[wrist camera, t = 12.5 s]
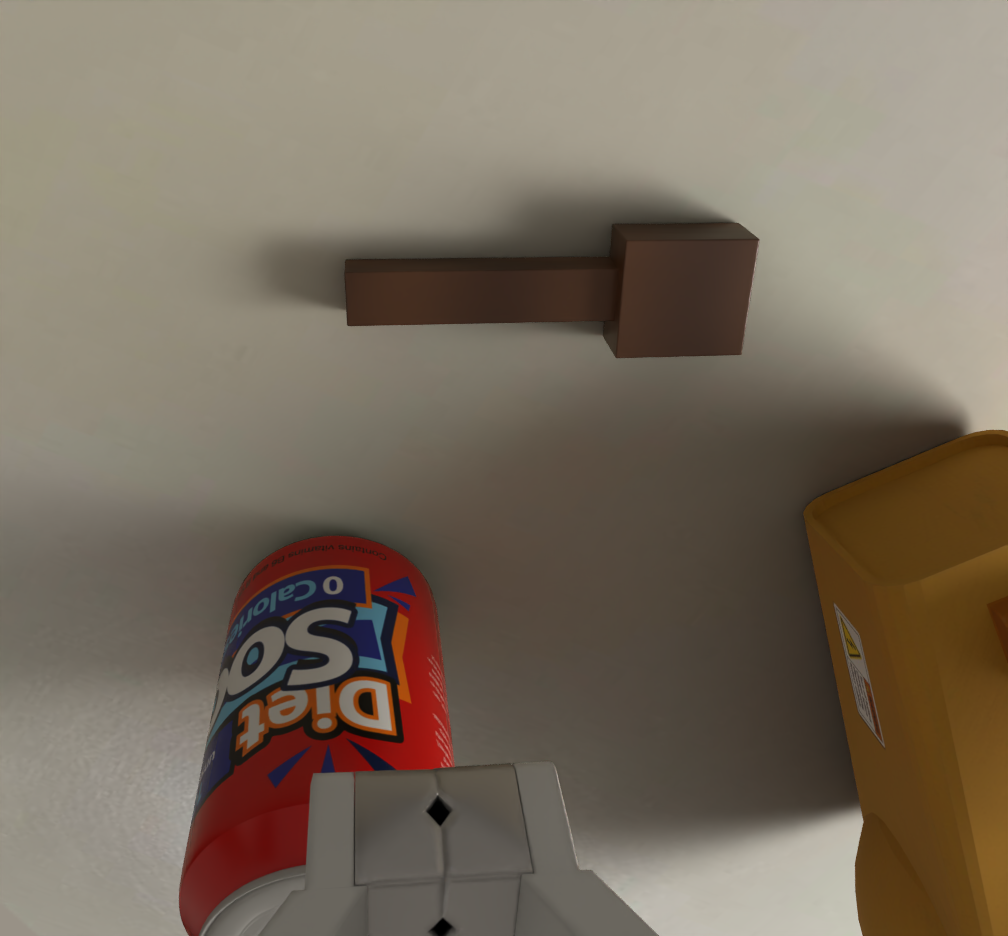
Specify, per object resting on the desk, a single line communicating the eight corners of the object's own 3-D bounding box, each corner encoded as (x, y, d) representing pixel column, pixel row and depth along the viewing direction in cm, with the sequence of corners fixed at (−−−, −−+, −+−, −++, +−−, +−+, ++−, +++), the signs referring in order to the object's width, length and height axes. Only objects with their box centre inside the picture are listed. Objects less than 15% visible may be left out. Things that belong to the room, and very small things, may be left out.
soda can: (383, 702, 41) (393, 1065, 28) (204, 646, 38) (123, 1018, 25) (470, 563, 38) (527, 896, 25) (282, 492, 35) (235, 823, 22)
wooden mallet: (349, 342, 33) (348, 365, 31) (343, 225, 31) (342, 243, 29) (722, 334, 34) (741, 355, 32) (739, 222, 32) (760, 239, 31)
